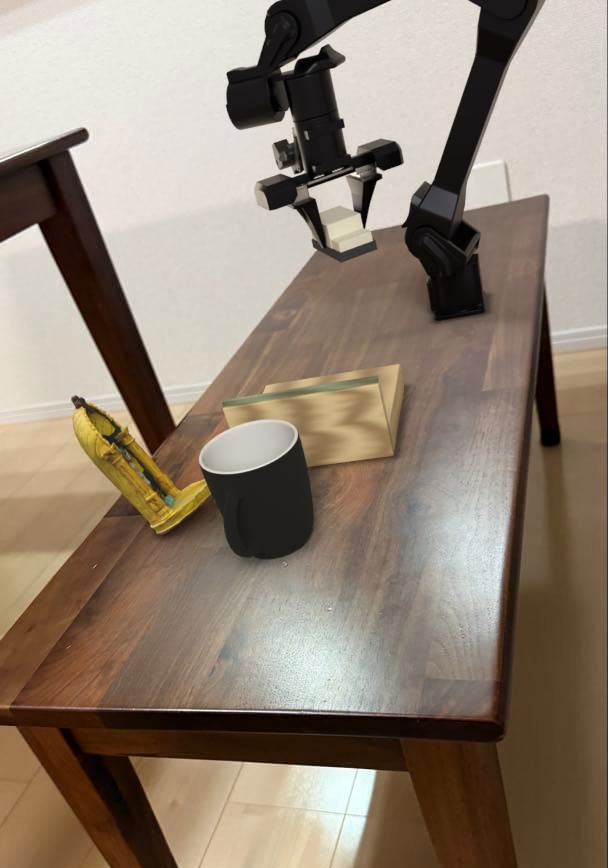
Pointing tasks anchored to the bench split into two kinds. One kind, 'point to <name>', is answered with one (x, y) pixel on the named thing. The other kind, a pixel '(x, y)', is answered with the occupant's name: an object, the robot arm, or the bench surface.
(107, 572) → the bench surface
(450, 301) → the robot arm
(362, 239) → the cream stepped block
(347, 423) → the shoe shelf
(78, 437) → the shrine
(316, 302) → the bench surface
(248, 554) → the mug
